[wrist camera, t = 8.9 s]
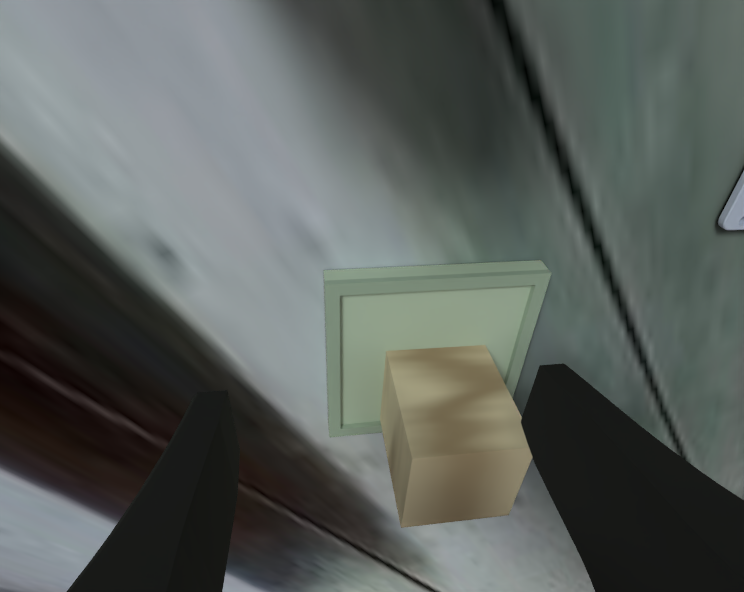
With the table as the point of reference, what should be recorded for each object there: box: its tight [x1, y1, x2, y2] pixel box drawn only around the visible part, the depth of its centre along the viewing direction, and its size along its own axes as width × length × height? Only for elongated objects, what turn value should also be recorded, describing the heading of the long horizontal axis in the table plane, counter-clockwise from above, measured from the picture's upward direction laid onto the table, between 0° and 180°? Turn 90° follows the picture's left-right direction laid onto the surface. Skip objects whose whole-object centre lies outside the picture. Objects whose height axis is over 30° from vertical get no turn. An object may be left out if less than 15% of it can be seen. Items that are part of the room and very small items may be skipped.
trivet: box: [324, 260, 551, 437], centre depth 23 cm, size 10×10×1 cm
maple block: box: [380, 345, 532, 528], centre depth 22 cm, size 5×5×6 cm
